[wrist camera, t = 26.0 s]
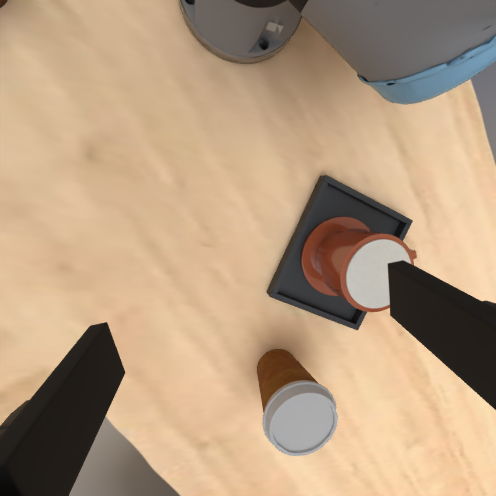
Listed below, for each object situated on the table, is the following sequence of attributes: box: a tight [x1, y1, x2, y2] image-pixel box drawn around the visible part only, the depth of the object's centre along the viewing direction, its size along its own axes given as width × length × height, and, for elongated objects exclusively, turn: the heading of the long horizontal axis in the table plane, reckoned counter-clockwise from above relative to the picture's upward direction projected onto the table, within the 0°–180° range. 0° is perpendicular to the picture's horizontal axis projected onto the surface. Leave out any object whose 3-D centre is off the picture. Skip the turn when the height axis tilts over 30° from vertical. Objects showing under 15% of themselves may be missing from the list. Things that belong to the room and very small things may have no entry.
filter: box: [300, 216, 417, 312], centre depth 40 cm, size 13×12×10 cm
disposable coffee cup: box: [257, 349, 338, 456], centre depth 41 cm, size 10×10×12 cm
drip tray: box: [267, 175, 413, 330], centre depth 44 cm, size 19×16×2 cm
